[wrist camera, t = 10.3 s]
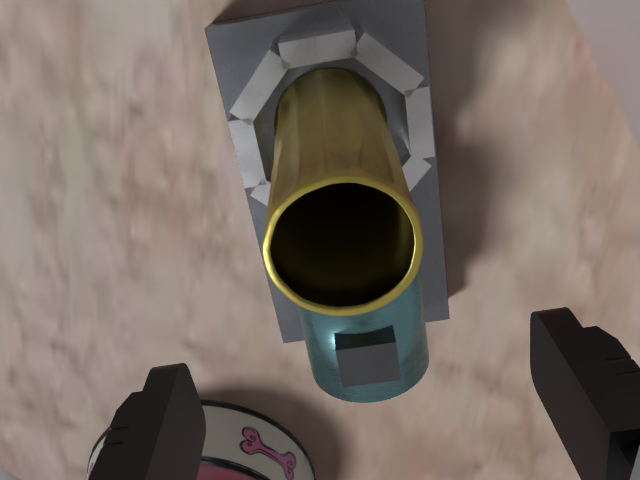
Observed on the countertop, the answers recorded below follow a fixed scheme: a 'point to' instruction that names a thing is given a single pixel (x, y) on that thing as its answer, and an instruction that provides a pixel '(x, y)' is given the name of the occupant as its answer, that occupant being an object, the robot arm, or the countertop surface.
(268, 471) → the dog bowl
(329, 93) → the vase
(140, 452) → the robot arm
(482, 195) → the countertop surface
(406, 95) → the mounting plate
